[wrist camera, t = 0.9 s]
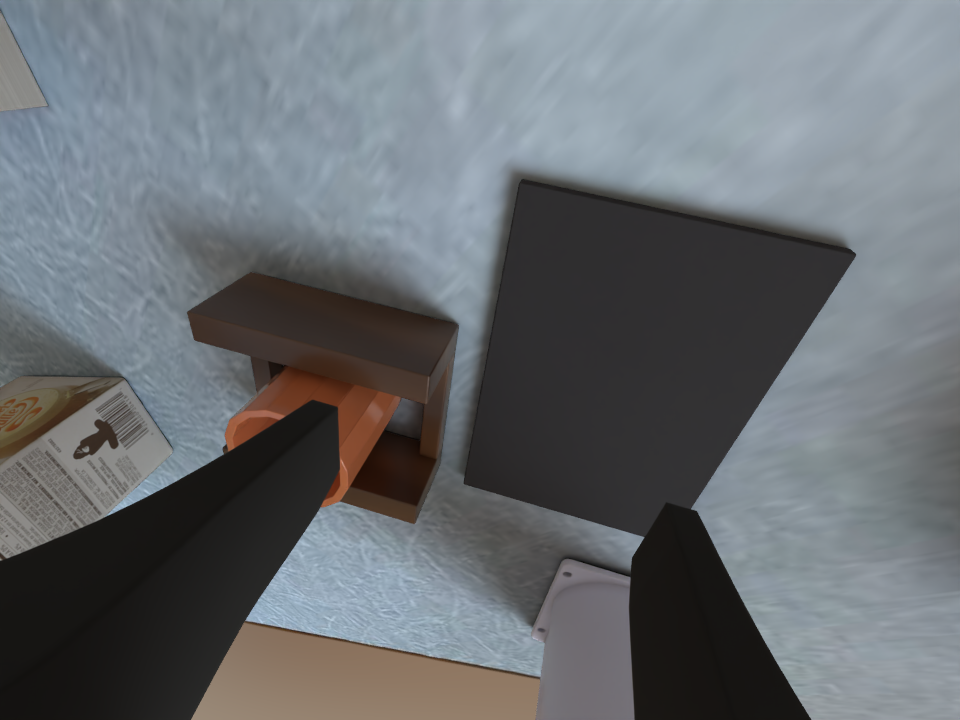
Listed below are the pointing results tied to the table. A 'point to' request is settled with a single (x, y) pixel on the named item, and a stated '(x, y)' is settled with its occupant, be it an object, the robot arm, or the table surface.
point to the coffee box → (69, 455)
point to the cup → (292, 388)
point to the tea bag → (16, 75)
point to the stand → (346, 369)
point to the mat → (633, 351)
